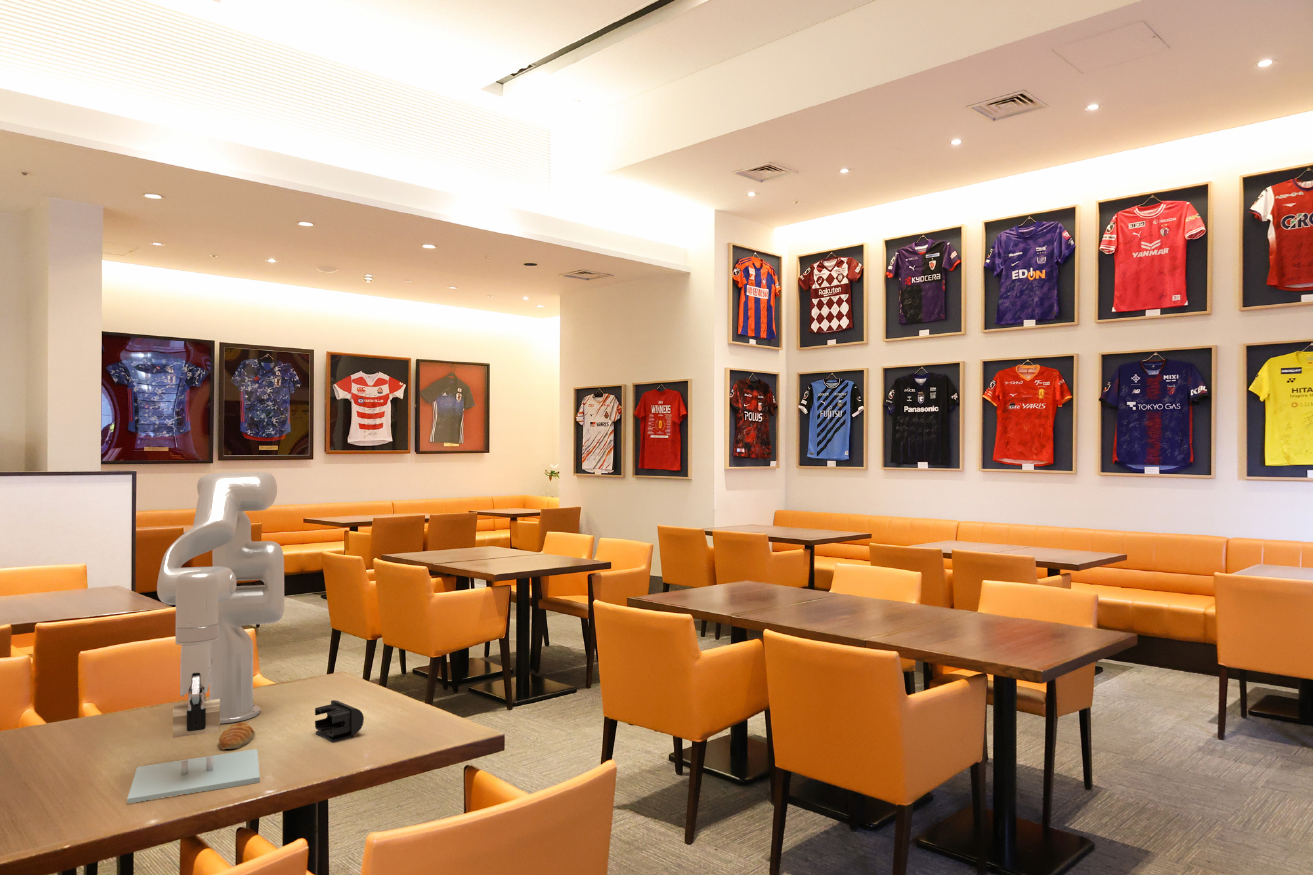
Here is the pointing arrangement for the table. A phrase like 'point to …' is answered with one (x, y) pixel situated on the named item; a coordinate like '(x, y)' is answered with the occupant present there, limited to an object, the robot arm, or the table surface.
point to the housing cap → (181, 719)
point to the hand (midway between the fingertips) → (196, 724)
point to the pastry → (236, 736)
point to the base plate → (194, 775)
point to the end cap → (338, 721)
